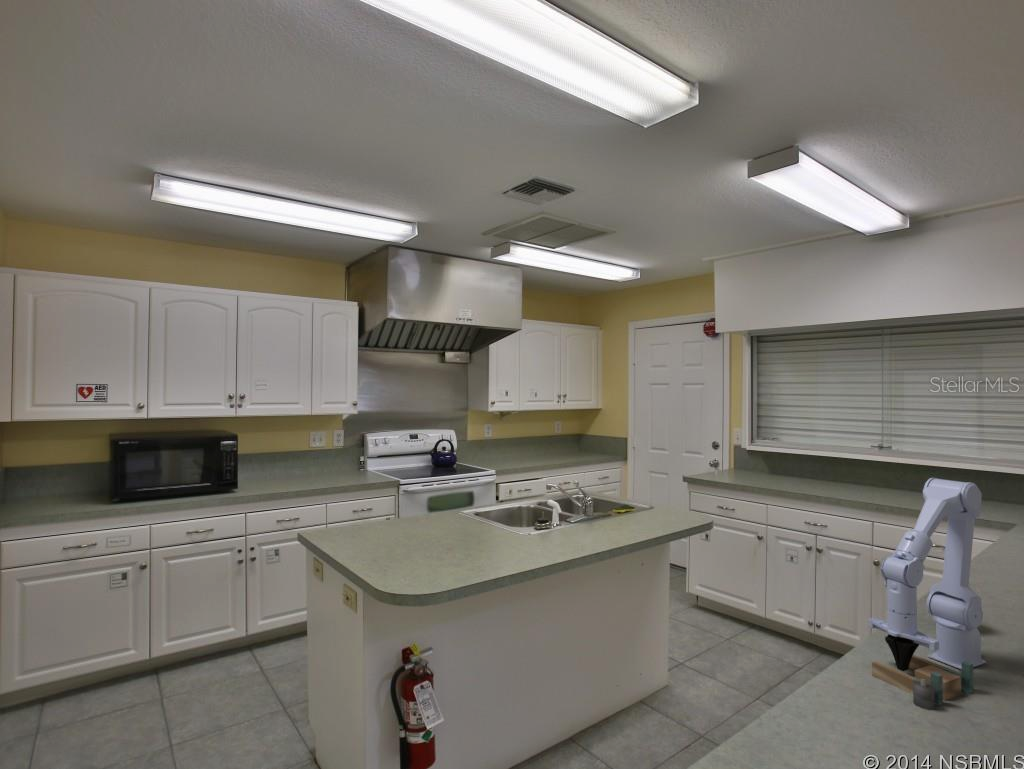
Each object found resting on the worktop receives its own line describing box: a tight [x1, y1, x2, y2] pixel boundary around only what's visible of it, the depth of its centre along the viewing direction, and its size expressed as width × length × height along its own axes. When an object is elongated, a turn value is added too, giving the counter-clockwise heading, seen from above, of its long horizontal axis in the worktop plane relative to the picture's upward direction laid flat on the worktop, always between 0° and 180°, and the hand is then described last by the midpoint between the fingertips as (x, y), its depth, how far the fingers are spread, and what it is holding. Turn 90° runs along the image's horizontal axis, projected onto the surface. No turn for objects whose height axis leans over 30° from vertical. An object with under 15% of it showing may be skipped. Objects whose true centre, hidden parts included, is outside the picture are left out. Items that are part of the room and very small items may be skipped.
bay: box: [871, 654, 975, 710], centre depth 126 cm, size 17×14×6 cm
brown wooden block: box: [914, 665, 962, 702], centre depth 124 cm, size 6×6×4 cm
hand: (902, 669), depth 131 cm, fingers closed
